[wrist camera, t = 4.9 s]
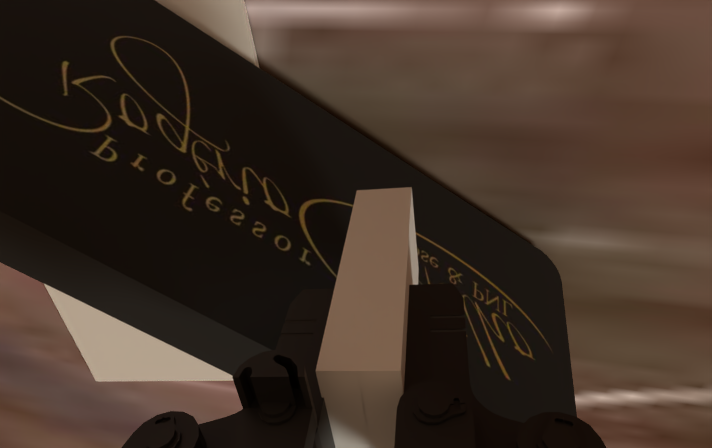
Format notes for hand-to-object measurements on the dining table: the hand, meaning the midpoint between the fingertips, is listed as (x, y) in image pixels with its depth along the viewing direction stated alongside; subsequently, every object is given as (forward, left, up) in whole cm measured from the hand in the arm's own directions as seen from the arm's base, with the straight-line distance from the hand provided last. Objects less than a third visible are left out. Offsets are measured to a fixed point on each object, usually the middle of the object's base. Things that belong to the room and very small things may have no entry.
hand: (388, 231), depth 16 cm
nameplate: (-2, 0, -6) cm, 7 cm away
